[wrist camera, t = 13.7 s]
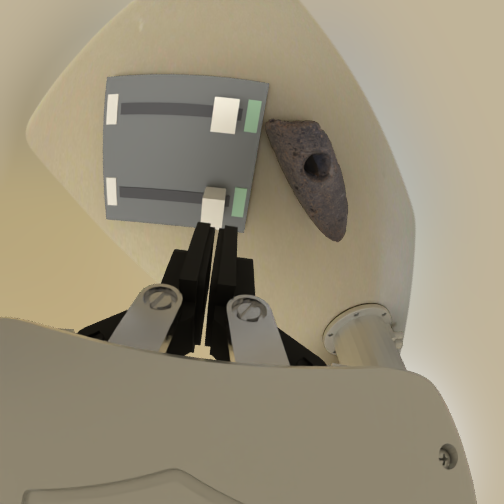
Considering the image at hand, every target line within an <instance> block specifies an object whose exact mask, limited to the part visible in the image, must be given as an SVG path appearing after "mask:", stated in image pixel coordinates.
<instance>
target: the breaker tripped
mask: <svg viewBox="0 0 504 504" xmlns="http://www.w3.org/2000/svg"><path fill="white" fill-rule="evenodd" d="M239 102H240V99H234V98H225V97H215V100H214V107H213V114H212V122H211V130H210V132H219V133H229V134H235V128H236V122H237V115H238V109H239Z"/></svg>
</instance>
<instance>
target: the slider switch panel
mask: <svg viewBox="0 0 504 504" xmlns="http://www.w3.org/2000/svg"><path fill="white" fill-rule="evenodd" d="M268 88H269V83H264V82H257V81H251V80H243V79H235V78H226V77H215V76H202V75H178V74H150V75H127V76H114V77H107V83H106V93H105V106H104V125H103V175H104V195H105V208H106V219H109V220H121V221H132V222H143V223H154V224H164V225H174V226H184V227H194V228H196V225H197V222H201V211H202V199H203V195H204V192H205V189H206V187H216V188H225V189H226V195H225V204H224V212H223V221H222V228H225V225H227V226H235V227H238V232H241V233H244V229H245V223H246V217H247V211H248V205H249V199H250V193H251V187H252V181H253V175H254V169H255V163H256V157H257V151H258V145H259V139H260V133H261V128H262V122H263V116H264V110H265V105H266V99H267V94H268ZM215 97H225V98H234V99H240V102H239V109H238V115H237V122H236V128H235V134H229V133H219V132H210V130H211V122H212V114H213V107H214V100H215Z"/></svg>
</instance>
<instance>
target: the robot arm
mask: <svg viewBox="0 0 504 504" xmlns="http://www.w3.org/2000/svg"><path fill="white" fill-rule="evenodd" d="M237 234H238V227H235V226H227V225H225V228H219V233H218V239H217V245H216V251H215V257H214V263H213V269H212V276H211V283H210V292H209V302H208V313H207V325H206V337H205V338H206V339H205V346H210V347H211V348H210V355H212V356H213V357H214V358H215V359H216V360H211V359H202V358H194V357H187V356H185V355H186V354H188V353H190V352H192V353H193V352H194V348H195V345H200V344H201V337H202V329H203V322H204V315H205V308H206V302H207V295H208V289H209V281H210V271H211V262H212V252H213V243H214V235H215V227H211V223H204V222H197V225H196V228H195V231H194V234H193V237H192V240H191V243H190V246H189V249H188V251H186V250H178V249H175V250H174V251H173V254H172V256H171V259H170V261H169V264H168V266H167V269H166V271H165V274H164V277H163V279H162V282H161V284H153V285H149V286H147V287H146V288H144V289H143V290H142V291H141V292H140V293H139V295H138V296H137V298H136V299H135V300H134V302H133V304H132V305H131V307H130V308H129V309H128V310H126V311H123V312H121V313H119V314H116V315H114V316H111V317H109V318H107V319H104V320H102V321H99V322H97V323H95V324H92V325H90V326H87V327H85V328H84V329H82V330H80V331H79V332H78V333H75V332H74V330H73V329H59V328H54V327H50V326H47V325H43V324H40V323H36V322H33V321H29V320H24V319H19V318H10V317H0V504H477V501H476V496H475V490H474V485H473V480H472V477H471V473H470V469H469V465H468V462H467V458H466V455H465V451H464V448H463V445H462V442H461V439H460V436H459V433H458V431H457V428H456V426H455V423H454V421H453V418H452V416H451V414H450V412H449V409H448V407H447V405H446V403H445V401H444V400H443V398H442V396H441V394H440V393H439V391H438V390H437V389H436V387H435V386H434V384H432V382H431V381H429V380H428V379H427V378H425V377H423V376H421V375H419V374H417V373H414V372H411V371H407V370H406V368H405V365H404V363H403V362H402V359H401V357H400V354H399V352H398V350H397V349H401V348H402V346H403V341H402V340H401V339H402V338H403V337H404V333H403V332H402V331H400V332H394V331H393V330H392V328H391V323H392V318H391V315H390V313H389V312H388V310H387V309H386V308H385V307H383V306H381V305H377V304H365V305H360V306H357V307H354V308H351V309H349V310H347V311H345V312H344V313H342V314H340V315H339V316H338V317H336V318H335V319H334V320H333V321H332V322H331V323H330V324H329V325H328V327H327V328H326V330H325V332H324V335H323V343H324V346H325V348H326V350H327V351H328V352H329V353H331V354H333V355H337V357H338V360H339V364H336V363H331V365H330V366H329V365H326V364H325V362H324V361H323V360H322V359H321V358H319V357H318V356H317V355H315V354H314V353H312V352H311V351H310V350H308V349H307V348H305V347H304V346H303V345H301V344H300V343H298V342H297V341H296V340H294V339H293V338H291V337H290V336H289V335H287V334H286V333H285V332H283V331H282V330H280V329H279V328H278V327H277V325H276V322H275V319H274V316H273V313H272V310H271V308H270V306H269V304H267V303H266V302H265V301H264V300H262V299H261V298H259V297H256V296H255V285H254V269H253V259H247V258H239V257H237Z"/></svg>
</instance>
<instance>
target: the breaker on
mask: <svg viewBox="0 0 504 504" xmlns="http://www.w3.org/2000/svg"><path fill="white" fill-rule="evenodd" d="M225 195H226V189H225V188H216V187H206V189H205V192H204V195H203V199H202V211H201V222H204V223H211V227H215V230H219V228H222V221H223V212H224V204H225Z"/></svg>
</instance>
